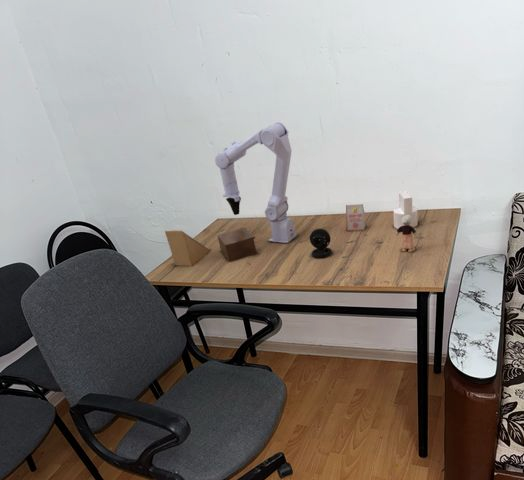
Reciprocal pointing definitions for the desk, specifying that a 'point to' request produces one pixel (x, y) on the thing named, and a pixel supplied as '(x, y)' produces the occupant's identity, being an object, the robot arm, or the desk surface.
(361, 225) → the grey printed box
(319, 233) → the webcam
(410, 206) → the cylinder with rectangular tab
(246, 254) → the walnut box
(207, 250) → the sandwich container
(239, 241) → the lid
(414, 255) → the desk surface
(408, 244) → the grandmother figurine
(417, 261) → the desk surface
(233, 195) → the robot arm
